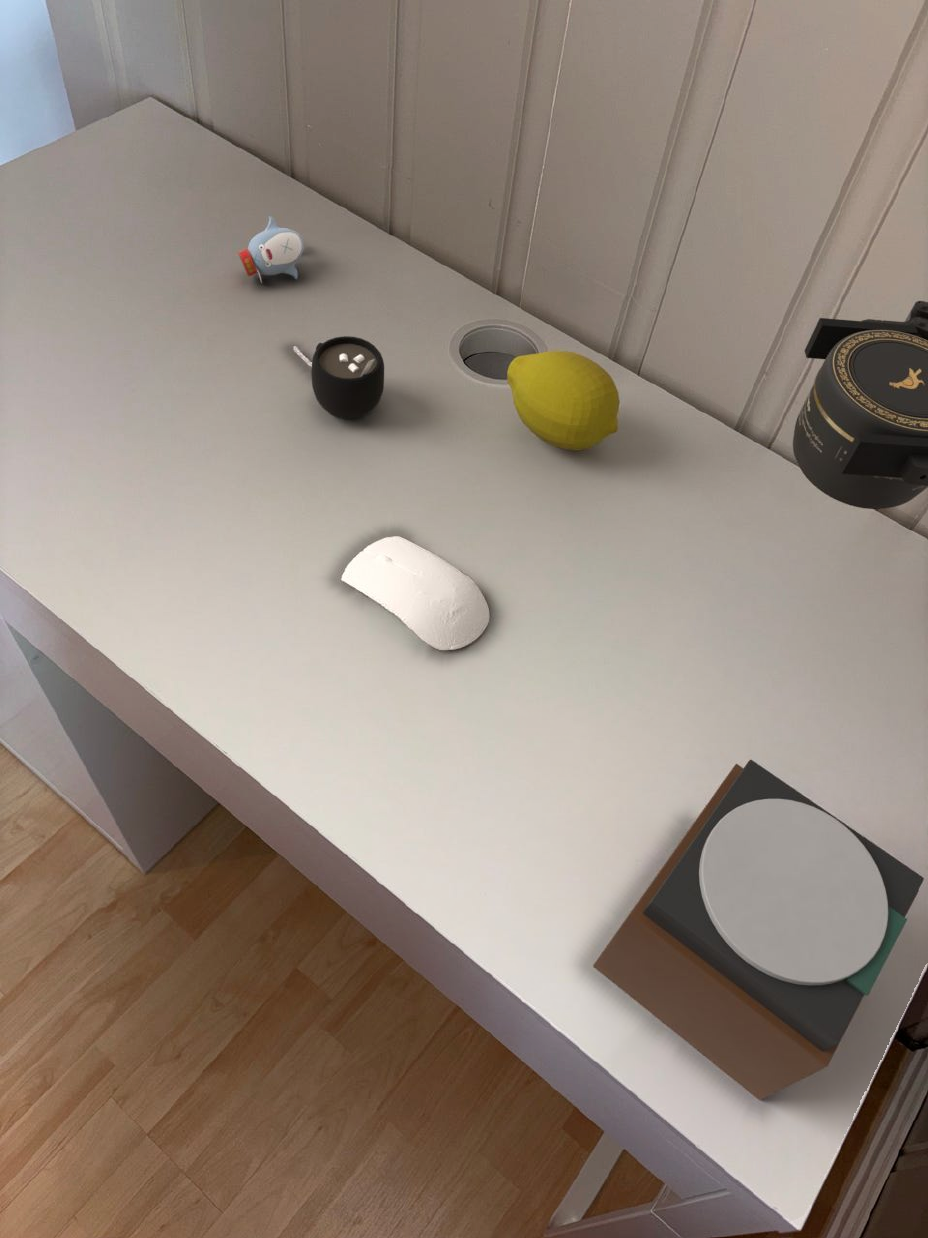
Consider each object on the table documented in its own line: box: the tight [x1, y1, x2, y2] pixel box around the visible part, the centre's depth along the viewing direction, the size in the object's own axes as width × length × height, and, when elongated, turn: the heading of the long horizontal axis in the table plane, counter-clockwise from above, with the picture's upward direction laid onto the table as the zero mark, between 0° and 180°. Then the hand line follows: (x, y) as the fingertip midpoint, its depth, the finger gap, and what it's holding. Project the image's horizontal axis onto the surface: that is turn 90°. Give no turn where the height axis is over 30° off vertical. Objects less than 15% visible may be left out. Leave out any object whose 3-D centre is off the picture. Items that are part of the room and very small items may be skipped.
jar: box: [792, 330, 928, 510], centre depth 64 cm, size 10×10×8 cm
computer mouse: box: [340, 535, 490, 651], centre depth 75 cm, size 7×12×2 cm, turn 49°
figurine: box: [237, 215, 305, 284], centre depth 96 cm, size 5×8×4 cm
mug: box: [292, 335, 385, 420], centre depth 85 cm, size 12×6×8 cm, turn 40°
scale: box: [592, 759, 925, 1101], centre depth 57 cm, size 12×12×13 cm
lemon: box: [506, 350, 621, 451], centre depth 84 cm, size 11×8×8 cm
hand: (830, 393), depth 62 cm, fingers closed on jar, 10 cm apart
